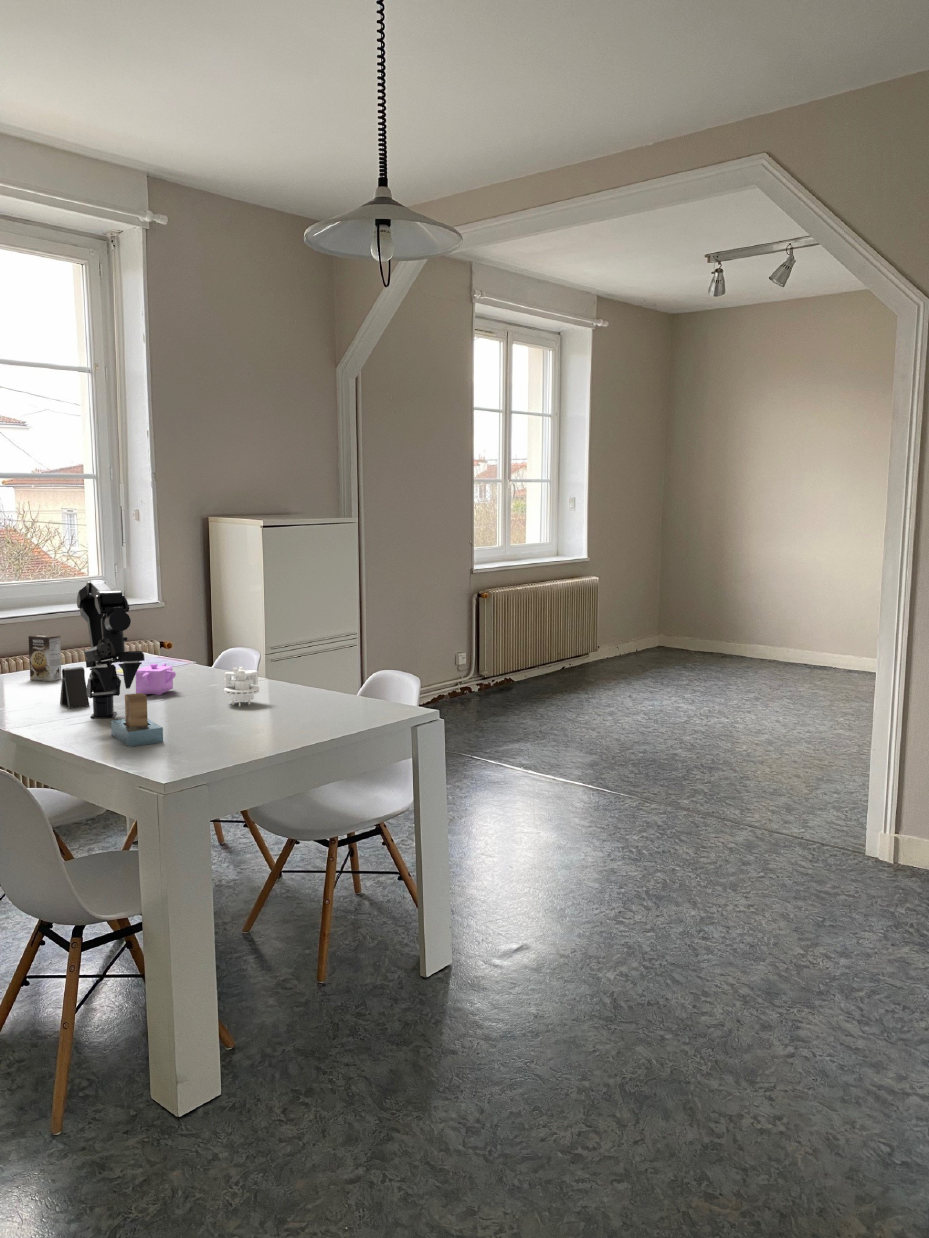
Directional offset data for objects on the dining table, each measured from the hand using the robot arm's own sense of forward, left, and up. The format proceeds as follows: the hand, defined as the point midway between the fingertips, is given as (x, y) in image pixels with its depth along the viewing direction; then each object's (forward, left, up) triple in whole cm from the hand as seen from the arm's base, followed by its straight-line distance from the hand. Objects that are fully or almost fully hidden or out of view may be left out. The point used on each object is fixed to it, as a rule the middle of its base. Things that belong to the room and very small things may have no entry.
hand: (117, 689), depth 261 cm
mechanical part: (-30, +33, -12) cm, 46 cm away
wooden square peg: (+12, +7, -11) cm, 18 cm away
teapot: (-53, +4, -12) cm, 55 cm away
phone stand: (-36, -19, -12) cm, 43 cm away
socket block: (+12, +7, -11) cm, 18 cm away
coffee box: (-85, -39, -12) cm, 95 cm away
